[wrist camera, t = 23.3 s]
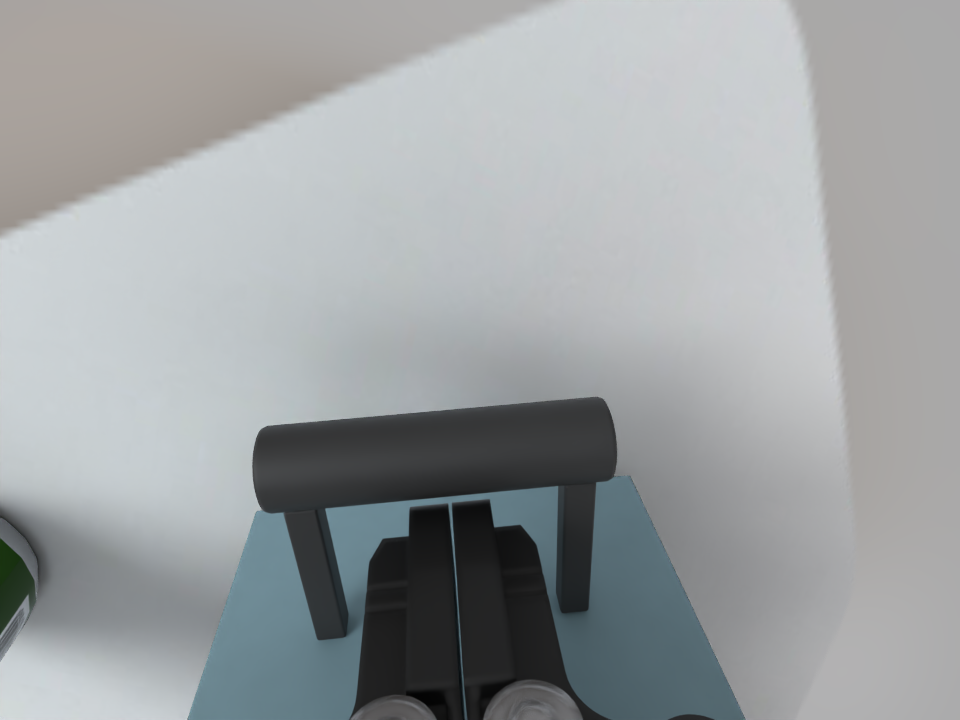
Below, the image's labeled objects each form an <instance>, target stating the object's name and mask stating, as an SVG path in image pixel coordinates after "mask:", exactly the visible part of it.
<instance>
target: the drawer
mask: <svg viewBox="0 0 960 720" xmlns="http://www.w3.org/2000/svg"><path fill="white" fill-rule="evenodd" d="M616 463H617V443H616V435H615V428H614V424H613V420H612V416H611V413H610V410H609V408H608V406H607V404H606V402H605V401H604V400H603V399H602V398H599V397H590V398H579V399H567V400H556V401H545V402H533V403H522V404H511V405H499V406H488V407H477V408H465V409H454V410H443V411H431V412H420V413H409V414H397V415H386V416H375V417H364V418H352V419H341V420H330V421H318V422H307V423H296V424H284V425H273V426H266V427H264V428H262V429H261V430H260V431H259V433H258V435H257V438H256V441H255V446H254V451H253V465H252V467H253V482H254V488H255V493H256V497H257V500H258V503H259V505H260V507H261V509H262V510H263V511H257V512H256V514H255V517H254V520H253V523H252V526H251V529H250V532H249V535H248V538H247V541H246V544H245V547H244V550H243V553H242V556H241V559H240V562H239V565H238V568H237V572H236V575H235V578H234V581H233V584H232V587H231V590H230V593H229V596H228V599H227V602H226V605H225V608H224V611H223V614H222V617H221V620H220V623H219V626H218V629H217V632H216V635H215V638H214V641H213V644H212V647H211V650H210V653H209V656H208V659H207V662H206V665H205V668H204V671H203V674H202V677H201V680H200V683H199V686H198V689H197V692H196V695H195V698H194V701H193V704H192V707H191V710H190V714H189V717H188V720H349V719H350V716H351V714H352V712H353V709H354V706H355V701H356V695H357V685H358V674H359V663H360V653H361V642H362V632H363V621H364V614H365V600H366V593H367V579H368V568H369V561H370V559H371V558H372V556H373V554H374V553H375V551H376V549H377V548H378V546H379V544H380V542H381V541H382V539H384V538H394V537H404V536H409V509H410V507H413V506H424V505H434V504H444V503H448V505H449V514H450V525H451V535H452V545H453V556H454V566H455V578H456V591H457V576H456V562H455V547H454V532H453V517H452V502H463V501H473V500H483V499H490V503H491V510H492V516H493V523H494V527H502V526H512V525H521V526H522V527H523V528H524V529H525V531H526V532H527V533H528V534H529V536H530V537H531V538H532V539H533V541H534V542H535V543H536V544H537V548H538V553H539V557H540V561H541V566H542V572H543V575H544V579H545V583H546V588H547V595H548V597H549V601H550V606H551V610H552V614H553V619H554V623H555V628H556V632H557V636H558V641H559V645H560V650H561V654H562V658H563V663H564V667H565V672H566V675H567V678H568V681H569V683H570V685H571V687H572V689H573V690H574V692H575V693H576V695H577V696H578V697H579V698H580V699H581V700H582V701H583V703H585V704H586V705H587V706H588V707H589V708H590V709H592V710H593V711H595V712H596V713H598V714H600V715H602V716H604V717H606V718H608V719H611V720H668V719H670V718H673V717H675V716H679V715H685V714H696V715H701V716H706V717H709V718H712V719H714V720H746V719H745V717H744V715H743V713H742V711H741V709H740V707H739V705H738V703H737V701H736V698H735V696H734V694H733V692H732V690H731V688H730V686H729V684H728V682H727V679H726V677H725V675H724V673H723V671H722V669H721V667H720V665H719V663H718V660H717V658H716V656H715V654H714V652H713V650H712V648H711V646H710V644H709V642H708V639H707V637H706V635H705V633H704V631H703V629H702V627H701V625H700V623H699V620H698V618H697V616H696V614H695V612H694V610H693V608H692V606H691V604H690V601H689V599H688V597H687V595H686V593H685V591H684V589H683V587H682V585H681V583H680V580H679V578H678V576H677V574H676V572H675V570H674V568H673V566H672V564H671V561H670V559H669V557H668V555H667V553H666V551H665V549H664V547H663V545H662V542H661V540H660V538H659V536H658V534H657V532H656V530H655V528H654V526H653V524H652V521H651V519H650V517H649V515H648V513H647V511H646V509H645V507H644V505H643V502H642V500H641V498H640V496H639V494H638V492H637V490H636V488H635V486H634V483H633V481H632V479H631V477H630V476H618V477H613V476H614V474H615V469H616ZM457 606H458V591H457ZM458 622H459V637H460V652H461V667H462V683H463V698H464V713H465V720H467V712H466V702H465V692H464V680H463V666H462V651H461V636H460V621H459V606H458Z"/></svg>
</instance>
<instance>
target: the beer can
mask: <svg viewBox="0 0 960 720" xmlns="http://www.w3.org/2000/svg"><path fill="white" fill-rule="evenodd" d="M37 588H38V566H37V558H36V556H35V554H34V553H33V551H32V549H31V547H30V545H29V543H28V542H27V540H26V539H25V538H24V537H23V536H22V535H21V534H20V533H19V532H18V531H17V530H16V529H15V528H14V527H13V526H12V525H10V524H9V523H8V522H7V521H6V520H4V519H3V518H1V517H0V661H1V660H2V658H3V657H4V655H5V654H6V652H7V651H8V649H9V647H10V646H11V644H12V643H13V641H14V640H15V638H16V637H17V635H18V634H19V632H20V631H21V629H22V628H23V626H24V625H25V623H26V622H27V620H28V618H29V616H30V614H31V612H32V609H33V607H34V605H35V603H36V599H37Z"/></svg>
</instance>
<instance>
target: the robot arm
mask: <svg viewBox="0 0 960 720" xmlns="http://www.w3.org/2000/svg"><path fill="white" fill-rule="evenodd" d="M452 517H453V532H454V547H455V562H456V576H457V591H458V606H459V621H460V636H461V651H462V666H463V680H464V692H465V702H466V712H467V720H611V719H608V718H606V717H604V716H602V715H600V714H598V713H596V712H595V711H593V710H592V709H590V708H589V707H588V706H587V705H586V704H585V703H583V701H582V700H581V699H580V698H579V697H578V696H577V695H576V693H575V692H574V690H573V689H572V687H571V685H570V683H569V681H568V678H567V675H566V672H565V667H564V663H563V658H562V654H561V650H560V645H559V641H558V636H557V632H556V628H555V623H554V619H553V614H552V610H551V606H550V601H549V597H548V595H547V588H546V583H545V579H544V575H543V572H542V566H541V561H540V557H539V553H538V548H537V544H536V543H535V542H534V541H533V539H532V538H531V537H530V536H529V534H528V533H527V532H526V531H525V529H524V528H523V527H522V526H521V525H512V526H502V527H494V523H493V516H492V510H491V503H490V499H483V500H473V501H463V502H452ZM457 591H456V578H455V566H454V556H453V545H452V535H451V525H450V514H449V505H448V503H444V504H434V505H424V506H413V507H410V509H409V536H404V537H394V538H384V539H382V541H381V542H380V544H379V546H378V548H377V549H376V551H375V553H374V554H373V556H372V558H371V559H370V561H369V568H368V579H367V593H366V600H365V614H364V621H363V632H362V642H361V653H360V663H359V674H358V685H357V695H356V701H355V706H354V709H353V712H352V714H351V716H350V719H349V720H465V713H464V698H463V683H462V667H461V652H460V637H459V622H458V606H457ZM668 720H714V719H712V718H709V717H706V716H701V715H696V714H685V715H679V716H675V717H673V718H670V719H668Z"/></svg>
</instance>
